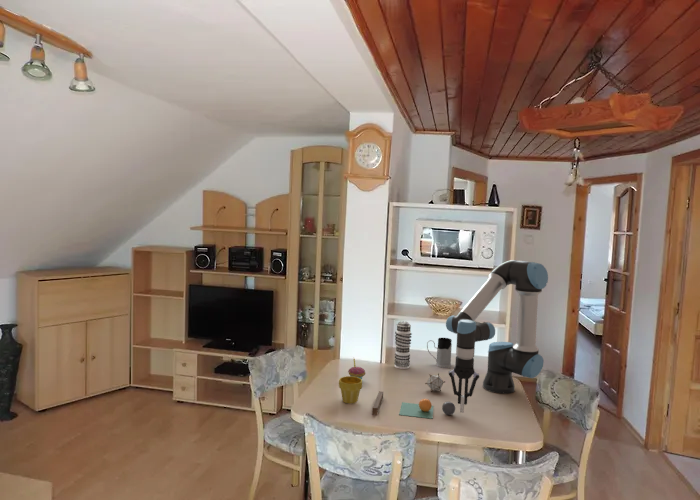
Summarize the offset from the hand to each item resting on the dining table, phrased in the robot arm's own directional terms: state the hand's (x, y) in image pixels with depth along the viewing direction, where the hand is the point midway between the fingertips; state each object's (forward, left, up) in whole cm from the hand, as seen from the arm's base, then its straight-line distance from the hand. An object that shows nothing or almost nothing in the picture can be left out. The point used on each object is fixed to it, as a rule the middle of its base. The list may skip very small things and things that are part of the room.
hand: (461, 411), depth 208 cm
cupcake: (+51, -29, -2) cm, 59 cm away
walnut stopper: (+36, 0, -2) cm, 36 cm away
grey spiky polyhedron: (+12, -27, -2) cm, 30 cm away
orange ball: (+15, 0, +1) cm, 16 cm away
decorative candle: (+31, -60, -2) cm, 68 cm away
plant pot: (+49, -2, -2) cm, 49 cm away
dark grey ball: (+5, 0, +1) cm, 6 cm away
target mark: (+19, 0, -2) cm, 19 cm away
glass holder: (+11, -70, -2) cm, 71 cm away
